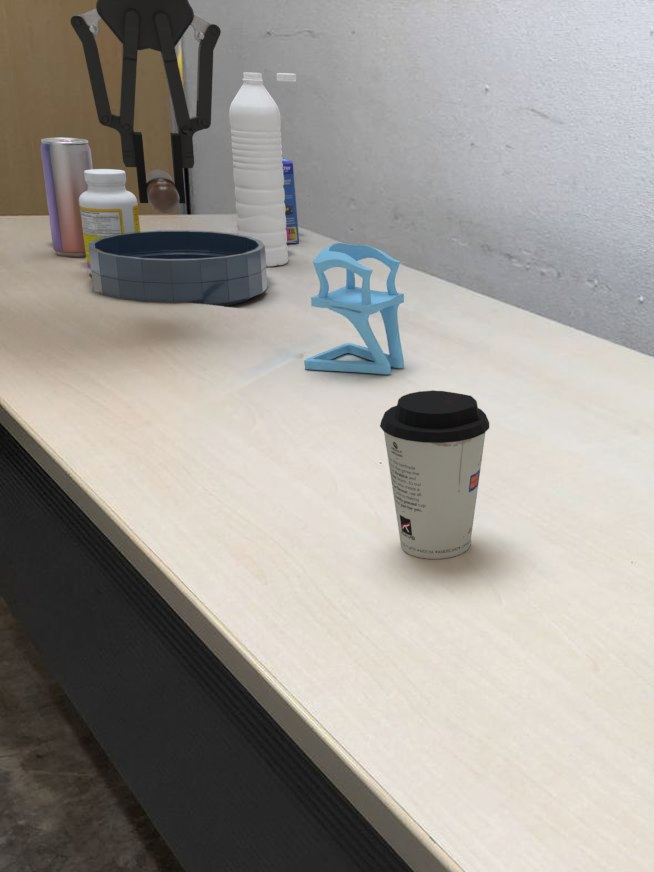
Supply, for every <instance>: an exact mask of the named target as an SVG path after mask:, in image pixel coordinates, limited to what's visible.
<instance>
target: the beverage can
mask: <svg viewBox="0 0 654 872" xmlns="http://www.w3.org/2000/svg"><path fill="white" fill-rule="evenodd" d="M40 142H41V144H40V157H41V163H42V164H41V165H42V172H43V181H44V188H45V195H46V204H47V211H48V218H49V227H50V234H51V241H52V242H51V243H52V248H53V251H54V252H55V254H56V255H58V256H60V257H66V258H86V252H85V244H84V236H83V228H82V221H81V213H80V206H79V197H80V195H81V194H82V193H84V192H85V191H87V190H88V184H87V183H86V181H85V177H84V171H85V170H91V169H94V167H93V166H94V165H93V159H92V158H93V157H92V149H91V147H90V145H89V140H88V139H85V138H79V137H78V138H76V137H45V138H41V139H40Z"/></svg>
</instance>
